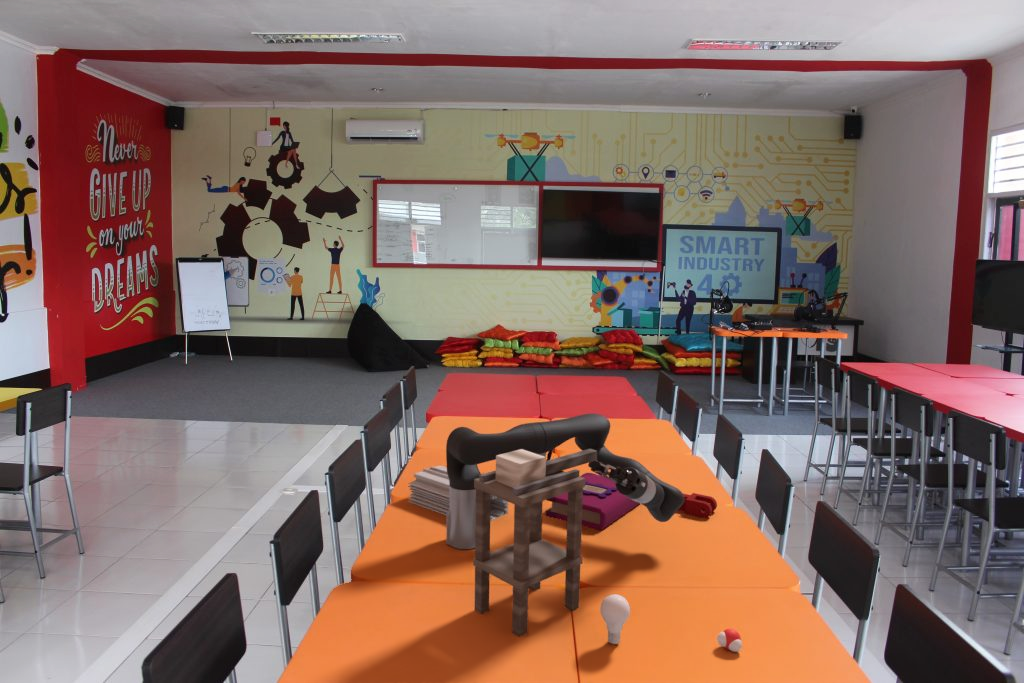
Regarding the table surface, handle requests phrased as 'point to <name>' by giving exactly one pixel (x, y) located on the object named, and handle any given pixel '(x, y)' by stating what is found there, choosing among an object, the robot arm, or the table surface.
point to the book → (595, 503)
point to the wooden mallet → (535, 465)
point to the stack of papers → (443, 492)
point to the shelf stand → (528, 542)
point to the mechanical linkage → (698, 505)
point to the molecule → (730, 640)
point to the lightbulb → (615, 615)
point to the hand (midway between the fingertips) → (603, 466)
